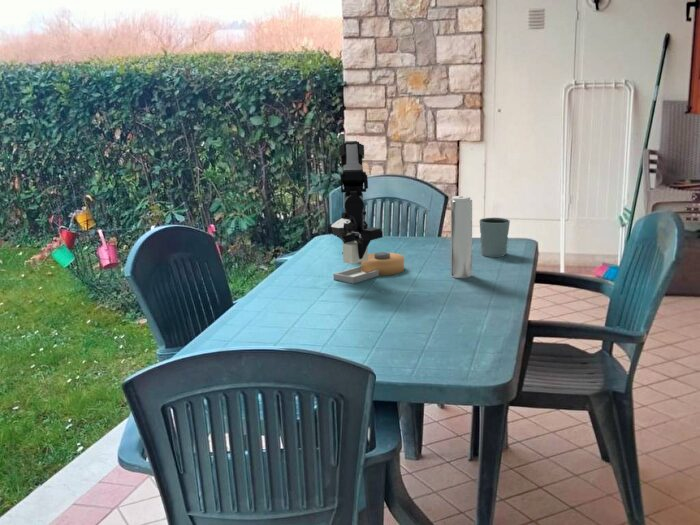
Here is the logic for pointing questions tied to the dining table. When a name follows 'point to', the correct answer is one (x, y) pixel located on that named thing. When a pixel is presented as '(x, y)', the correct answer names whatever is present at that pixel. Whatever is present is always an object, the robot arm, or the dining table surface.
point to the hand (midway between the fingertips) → (355, 257)
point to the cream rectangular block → (352, 253)
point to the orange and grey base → (373, 267)
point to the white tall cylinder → (461, 237)
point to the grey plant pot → (494, 236)
